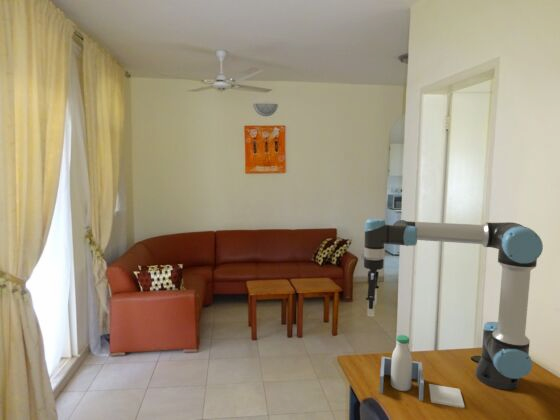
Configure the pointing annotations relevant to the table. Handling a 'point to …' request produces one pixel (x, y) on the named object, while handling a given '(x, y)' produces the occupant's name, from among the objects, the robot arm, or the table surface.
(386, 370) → the grey u-shaped piece
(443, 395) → the tile
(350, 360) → the table surface
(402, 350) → the milk bottle
